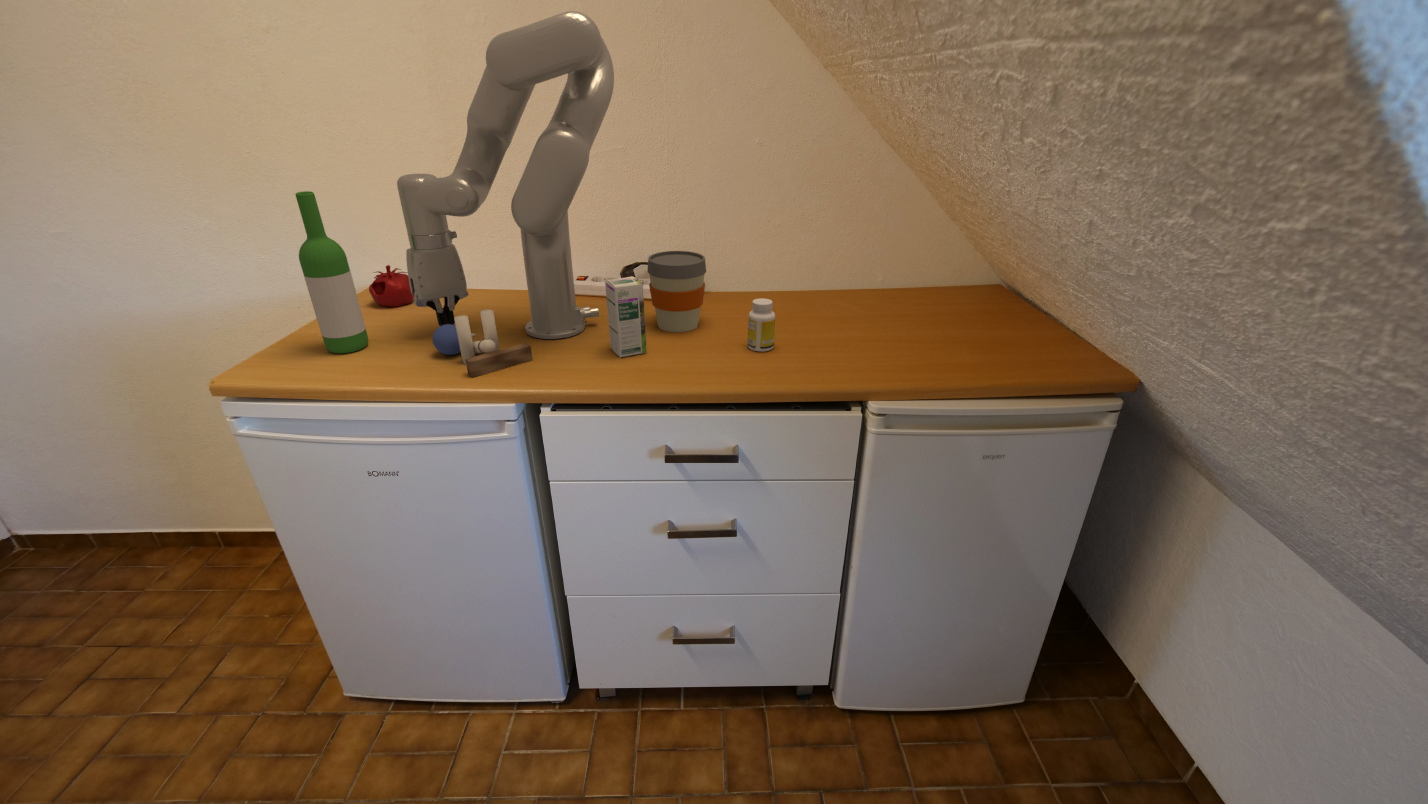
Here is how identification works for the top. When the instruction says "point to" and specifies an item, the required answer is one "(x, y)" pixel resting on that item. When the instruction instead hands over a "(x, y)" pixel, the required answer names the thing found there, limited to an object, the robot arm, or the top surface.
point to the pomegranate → (391, 288)
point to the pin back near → (489, 327)
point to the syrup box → (626, 316)
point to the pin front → (484, 346)
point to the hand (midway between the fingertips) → (447, 328)
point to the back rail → (498, 359)
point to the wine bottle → (329, 283)
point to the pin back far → (464, 337)
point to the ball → (446, 339)
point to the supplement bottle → (761, 325)
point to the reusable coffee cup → (677, 288)
